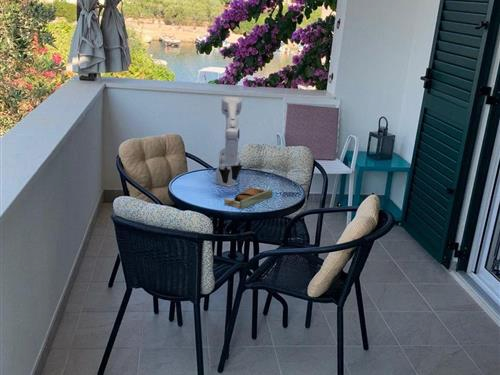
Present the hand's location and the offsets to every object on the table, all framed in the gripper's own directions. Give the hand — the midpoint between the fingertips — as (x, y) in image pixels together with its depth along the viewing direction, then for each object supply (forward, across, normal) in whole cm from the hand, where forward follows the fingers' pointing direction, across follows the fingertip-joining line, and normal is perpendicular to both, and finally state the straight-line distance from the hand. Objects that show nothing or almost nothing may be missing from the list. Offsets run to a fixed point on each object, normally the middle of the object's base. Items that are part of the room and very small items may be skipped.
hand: (229, 181), depth 271 cm
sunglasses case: (+8, +2, -10) cm, 13 cm away
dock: (+7, 0, -11) cm, 13 cm away
